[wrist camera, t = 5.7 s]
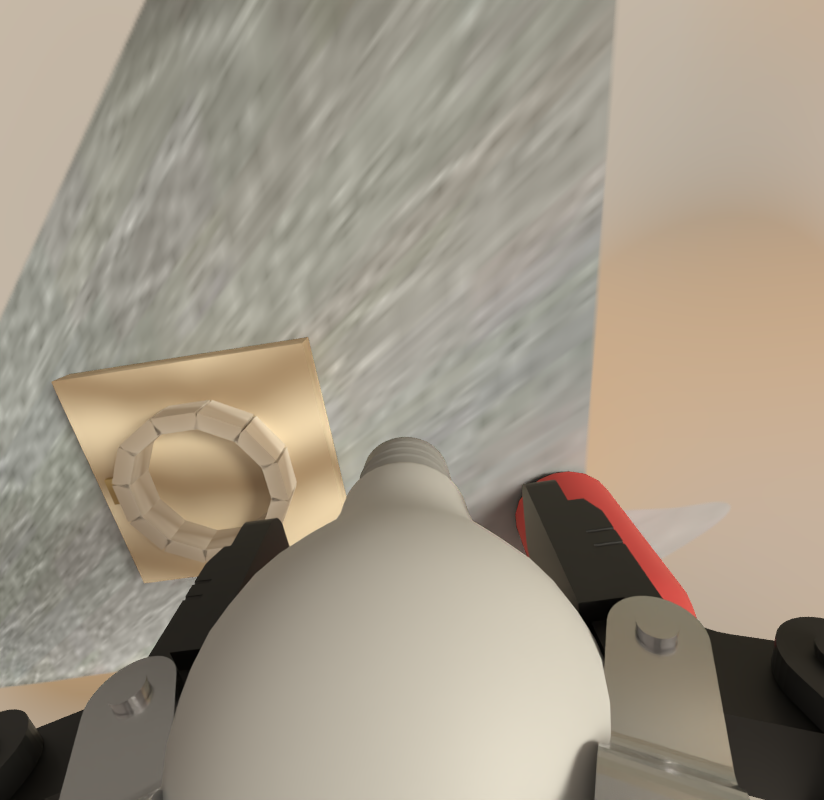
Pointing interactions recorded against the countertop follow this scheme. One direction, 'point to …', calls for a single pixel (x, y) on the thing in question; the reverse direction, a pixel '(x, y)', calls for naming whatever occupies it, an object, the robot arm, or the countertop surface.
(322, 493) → the lamp holder
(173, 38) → the countertop surface
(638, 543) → the beer can
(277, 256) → the countertop surface
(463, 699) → the lightbulb
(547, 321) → the countertop surface
